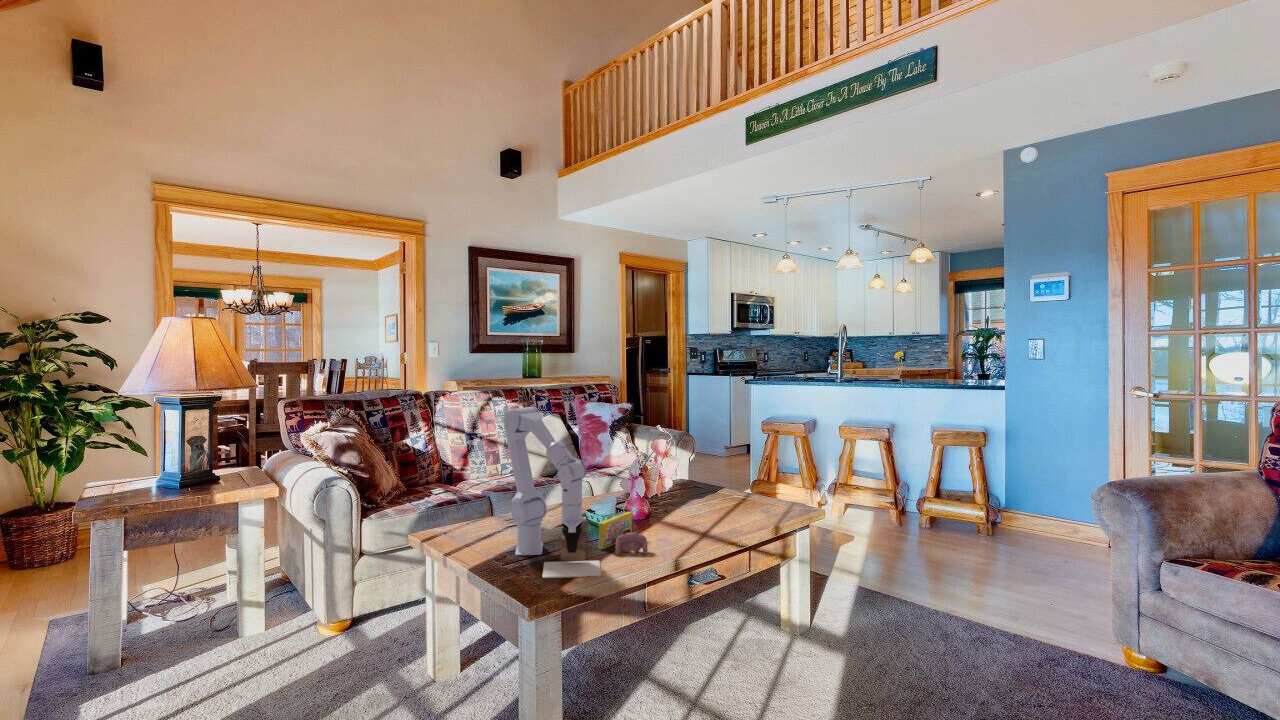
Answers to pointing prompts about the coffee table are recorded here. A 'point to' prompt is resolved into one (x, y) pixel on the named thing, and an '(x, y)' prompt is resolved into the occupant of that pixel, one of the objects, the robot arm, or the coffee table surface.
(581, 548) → the brown block
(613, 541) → the candy box
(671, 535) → the coffee table surface
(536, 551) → the robot arm
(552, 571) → the mat
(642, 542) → the video game controller
